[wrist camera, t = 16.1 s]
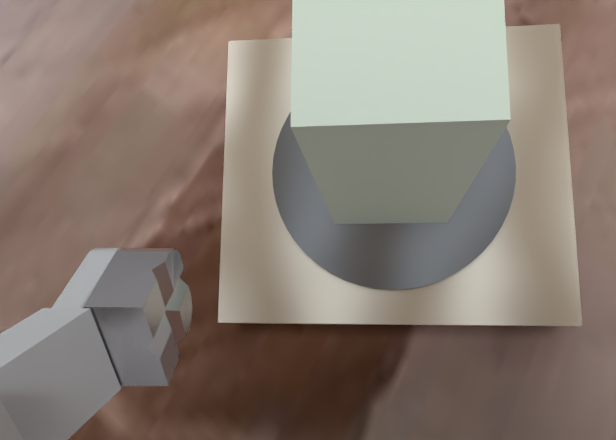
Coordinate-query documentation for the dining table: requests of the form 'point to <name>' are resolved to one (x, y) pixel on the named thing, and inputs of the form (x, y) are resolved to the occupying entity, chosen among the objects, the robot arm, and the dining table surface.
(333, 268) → the birch base
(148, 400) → the dining table surface
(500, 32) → the sage block
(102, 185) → the dining table surface
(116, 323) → the robot arm
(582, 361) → the dining table surface
